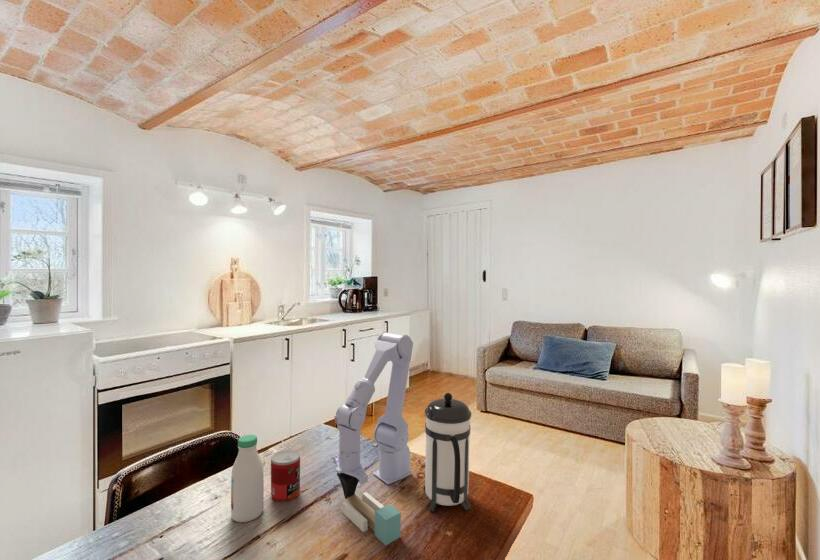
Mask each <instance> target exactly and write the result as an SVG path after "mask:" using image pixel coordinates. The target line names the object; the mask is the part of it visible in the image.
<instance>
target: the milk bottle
mask: <svg viewBox="0 0 820 560" xmlns="http://www.w3.org/2000/svg"><path fill="white" fill-rule="evenodd" d="M257 446H258V436H257V435H256V434H246V435H242V436H240V437H239V438H238V440H237V449H238V452H237V456H236V458H235V461H234V463H233V465H232V469H231V478H230V480H231V483H230V487H231V488H230V491H231V492H230V493H231V494H230V498H231V499H230V506H231V507H230V509H231V511H230V513H231V518H232V520H233V521H235V522H237V523H247V522H251V521H254V520H256V519H257V518H259V517H260V516H261V515H262V513H263V511H264V490H265V489H264V464H263V461H262V459H261V456H260V455H259V453H258V450H257Z"/></svg>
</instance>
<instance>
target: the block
mask: <svg viewBox="0 0 820 560" xmlns="http://www.w3.org/2000/svg"><path fill="white" fill-rule="evenodd" d="M383 506H384V507H382V508H380V509H378V510H376V511H375V531H374V537H376V538H377V539H378V540H379V541H381V543H382V544H383V545H385V546H387V545H389V544H391V543H392V542H394V541H396V540H398V539H399V538H401V532H402V531H401V529H402V528H401V527H402V526H401V523H402V521H401V520H402V519H401V517H402V515H401V512H400V510H398V509H397V508H396V507H394V506H393V505H392V504H391V503H388V504H386V505H383Z"/></svg>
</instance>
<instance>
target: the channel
mask: <svg viewBox="0 0 820 560" xmlns="http://www.w3.org/2000/svg"><path fill="white" fill-rule="evenodd" d="M361 500H362V501H364V502H365V503H366V504H367V505H369V506H370V507H371V508H372V509H373V510H375V511H376V510H378V509H380V508H382V507H384V506H385V505H383V504H382V503H381V502H380V501H378V500H377V499H375V498H374V496H373V495H371V494H370V493H368V492H367V491H365V492H363V493H362V497H361ZM341 513H342V514H343V515H344V516H345V517H346V518H348V519H349V520H350V522H352V523H353V524H354V525H355V526H356V527H357V528H358V529H359V530H360V531H362V533H365V532H367V531H368V525H367V519H366V518H365V517H363V516H362V515H361V514H360V513H359V512H358V511H357V510H356V509H354V508H353V507H352V506H351V505H350V504H349V503H348V502H347V500H345V501H343V502H341Z"/></svg>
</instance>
